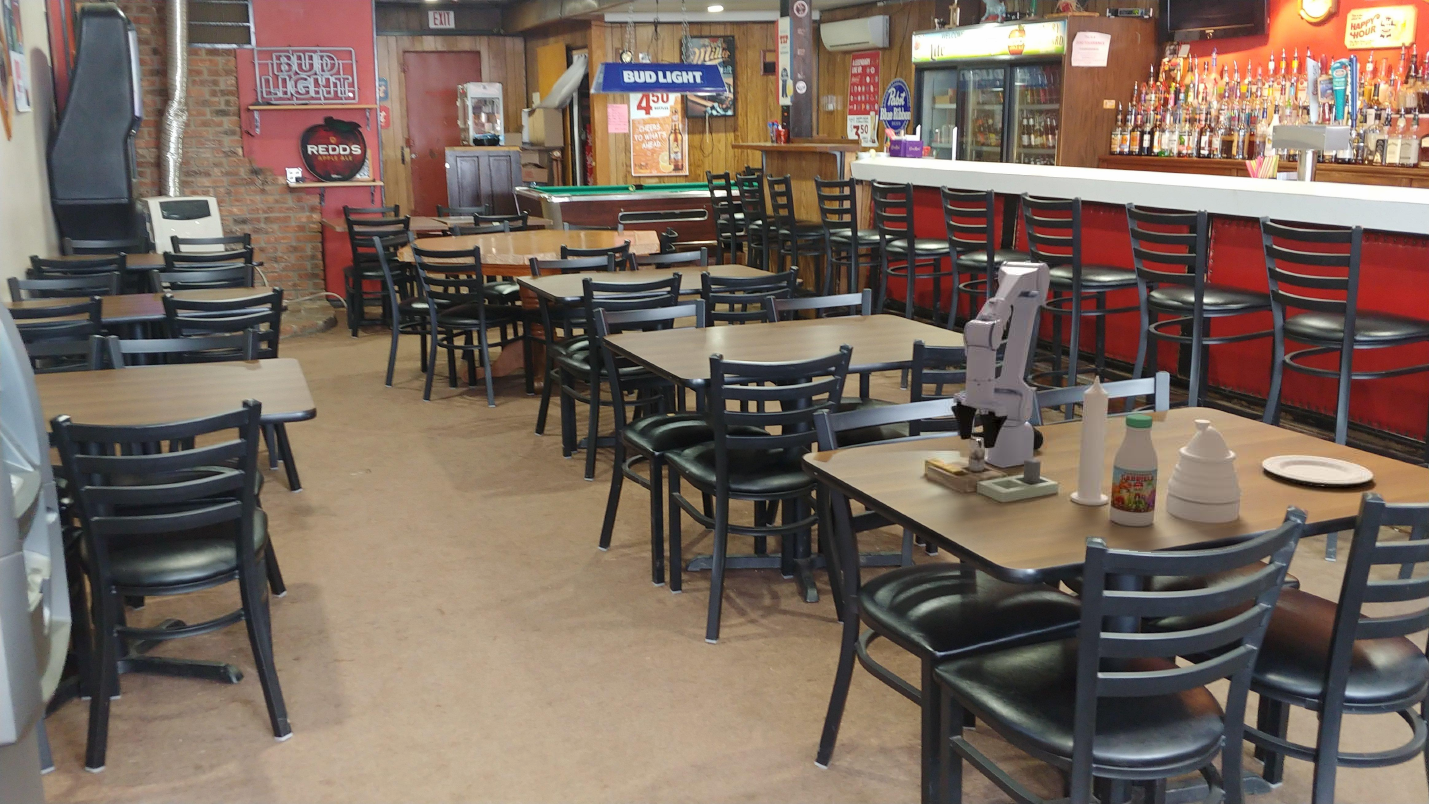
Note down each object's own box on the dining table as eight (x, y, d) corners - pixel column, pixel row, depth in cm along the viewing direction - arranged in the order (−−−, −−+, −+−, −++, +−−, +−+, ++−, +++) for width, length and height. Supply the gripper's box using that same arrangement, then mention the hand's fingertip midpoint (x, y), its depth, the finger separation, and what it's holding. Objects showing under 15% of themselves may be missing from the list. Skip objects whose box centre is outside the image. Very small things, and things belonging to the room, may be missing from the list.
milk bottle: (1102, 514, 216) (1109, 412, 211) (1142, 513, 217) (1150, 411, 212) (1120, 528, 208) (1128, 422, 204) (1160, 526, 209) (1169, 421, 205)
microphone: (968, 449, 274) (1036, 457, 258) (962, 428, 272) (1030, 434, 256) (982, 439, 277) (1050, 446, 261) (976, 418, 275) (1044, 423, 259)
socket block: (969, 470, 245) (970, 459, 245) (1006, 485, 235) (1007, 473, 234) (927, 477, 240) (927, 466, 240) (963, 492, 230) (963, 481, 229)
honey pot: (1202, 526, 209) (1211, 431, 205) (1150, 506, 221) (1158, 416, 217) (1254, 517, 214) (1263, 424, 210) (1200, 497, 226) (1209, 409, 222)
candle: (1089, 507, 220) (1097, 380, 215) (1062, 497, 226) (1070, 374, 221) (1115, 502, 223) (1125, 377, 218) (1088, 492, 229) (1097, 370, 224)
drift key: (933, 471, 244) (934, 458, 244) (963, 484, 236) (963, 470, 235) (924, 473, 243) (925, 459, 243) (953, 485, 235) (954, 471, 234)
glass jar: (977, 477, 240) (978, 436, 238) (986, 481, 237) (988, 439, 235) (964, 480, 239) (966, 438, 237) (974, 483, 236) (976, 441, 234)
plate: (1384, 475, 240) (1385, 466, 240) (1357, 498, 225) (1358, 489, 225) (1278, 457, 254) (1279, 449, 254) (1246, 478, 239) (1247, 469, 239)
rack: (1030, 482, 237) (1032, 454, 235) (1058, 492, 230) (1059, 463, 228) (976, 491, 231) (978, 462, 229) (1002, 502, 224) (1004, 473, 222)
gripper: (942, 374, 238) (940, 437, 241) (987, 387, 225) (984, 453, 228) (970, 371, 241) (967, 433, 244) (1015, 383, 228) (1012, 449, 231)
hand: (977, 443), depth 236 cm, fingers open, 7 cm apart
